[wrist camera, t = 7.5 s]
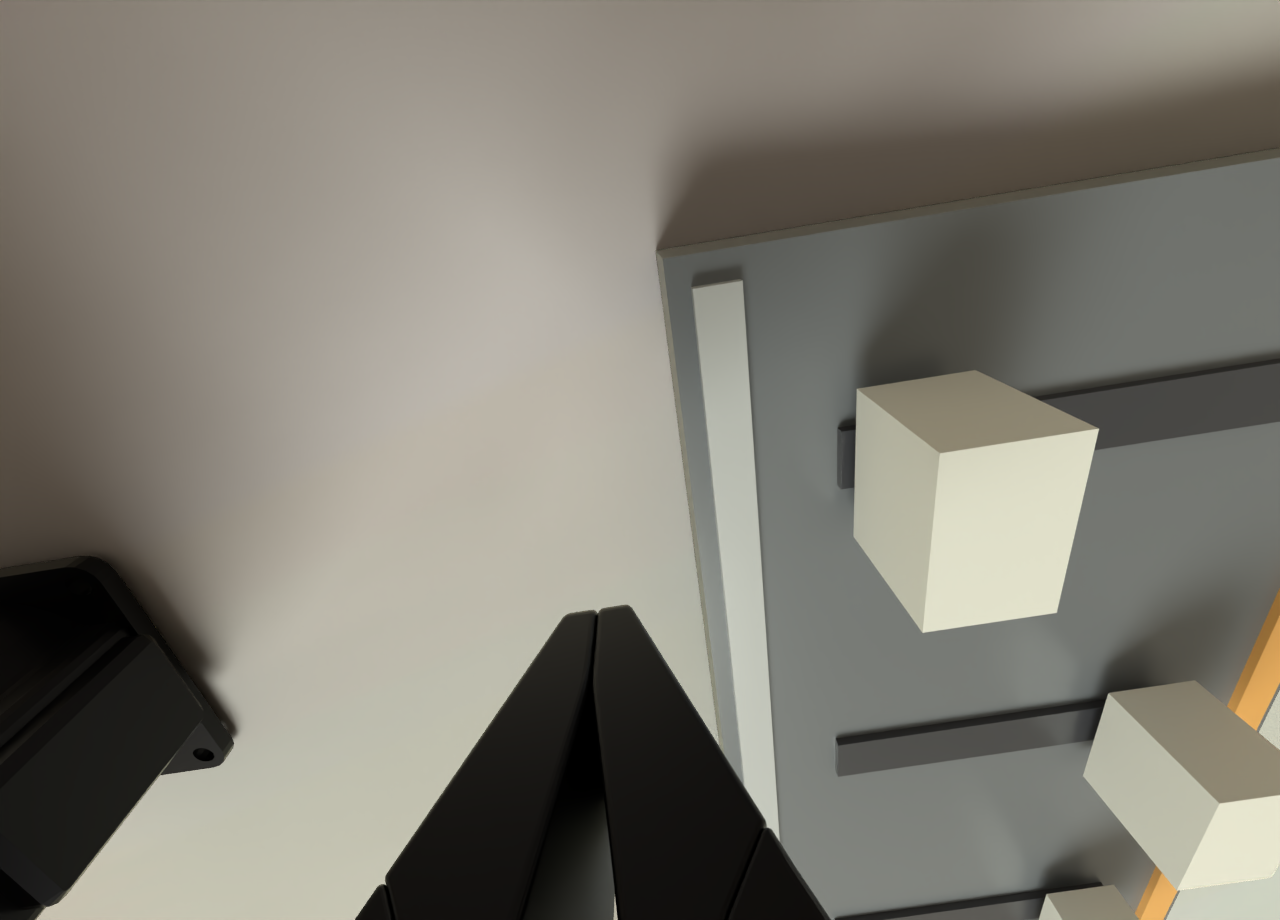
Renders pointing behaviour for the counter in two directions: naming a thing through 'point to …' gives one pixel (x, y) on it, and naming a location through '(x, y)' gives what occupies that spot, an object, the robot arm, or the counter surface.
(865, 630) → the switch panel
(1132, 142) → the counter surface
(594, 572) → the counter surface
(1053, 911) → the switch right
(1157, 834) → the switch middle
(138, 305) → the counter surface
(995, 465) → the switch
